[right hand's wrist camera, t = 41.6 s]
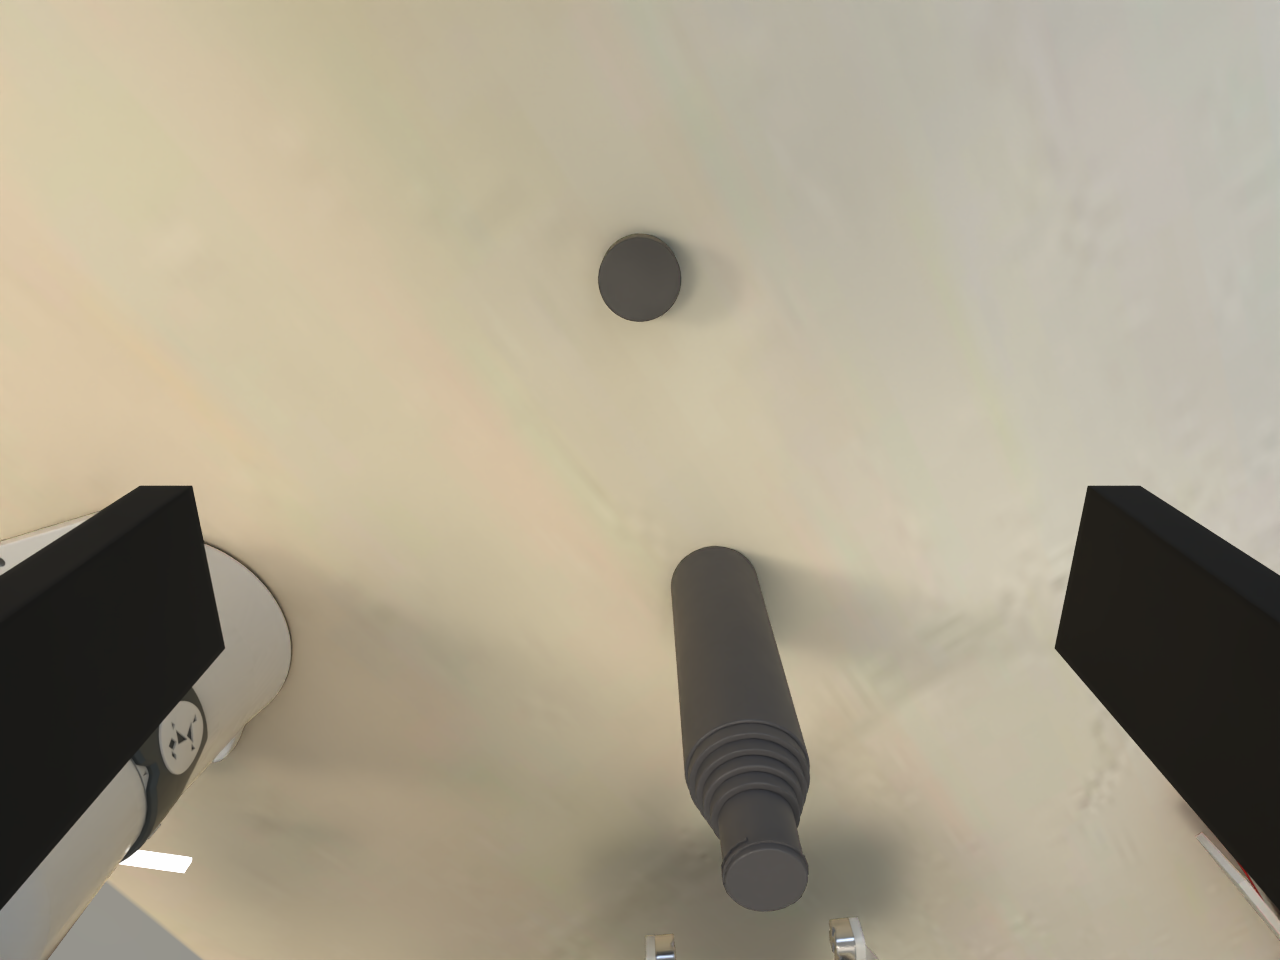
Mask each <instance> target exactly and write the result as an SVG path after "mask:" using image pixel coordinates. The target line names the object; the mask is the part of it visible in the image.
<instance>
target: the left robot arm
mask: <svg viewBox="0 0 1280 960" xmlns="http://www.w3.org/2000/svg"><path fill="white" fill-rule="evenodd" d="M99 512H100V511H99ZM97 513H98V512H95V513H92V514H89V515H86V516H82V517H79V518H76V519H72V520H69V521H66V522H63V523H59V524H56V525H53V526H49V527H46V528H43V529H40V530H36V531H33V532H30V533H26V534H23V535H20V536H17V537H13V538H10V539H7V540H3V541H0V575H2V574H3V573H5V572H6V571H8V570H10V569H11V568H13V567H14V566H16V565H17V564H19V563H21V562H22V561H24V560H25V559H27V558H28V557H30V556H31V555H33V554H35V553H36V552H38V551H39V550H41V549H42V548H44V547H45V546H47V545H49V544H50V543H52V542H53V541H55V540H56V539H58V538H59V537H61V536H63V535H64V534H66V533H67V532H69V531H70V530H72V529H73V528H75V527H77V526H78V525H80V524H81V523H83V522H84V521H86V520H87V519H89V518H91V517H92V516H94V515H95V514H97ZM204 546H205V551H206V556H207V561H208V566H209V571H210V576H211V580H212V585H213V590H214V595H215V600H216V605H217V610H218V615H219V620H220V625H221V630H222V634H223V639H224V644H225V649H224V650H223V652H222V653H221V654H220V655H219V656H218V657H217V659H216V660H215V661H214V662H213V663H212V664H211V666H210V667H209V668H208V669H207V670H206V671H205V673H204V674H203V675H202V676H201V677H200V678H199V680H198V681H197V682H196V683H195V684H194V685H193V687H192V688H191V689H190V690H189V691H188V692H187V694H186V695H185V696H184V697H183V698H182V699H181V701H180V702H179V703H178V704H177V705H176V706H175V708H174V709H173V710H172V711H171V712H170V713H169V715H168V716H167V717H166V718H165V719H164V720H163V722H162V723H161V724H160V725H159V726H158V727H157V729H156V730H155V731H154V732H153V733H152V734H151V736H150V737H149V738H148V739H147V740H146V741H145V743H144V744H143V745H142V746H141V747H140V748H139V750H138V751H137V752H136V753H135V754H134V755H133V757H132V758H131V759H130V760H129V761H128V762H127V764H126V765H125V766H124V767H123V768H122V769H121V771H120V772H119V773H118V774H117V775H116V776H115V778H114V779H113V780H112V781H111V782H110V783H109V785H108V786H107V787H106V788H105V789H104V790H103V792H102V793H101V794H100V795H99V796H98V797H97V799H96V800H95V801H94V802H93V803H92V804H91V806H90V807H89V808H88V809H87V810H86V811H85V813H84V814H83V815H82V816H81V817H80V818H79V820H78V821H77V822H76V823H75V824H74V825H73V827H72V828H71V829H70V830H69V831H68V832H67V834H66V835H65V836H64V837H63V838H62V839H61V841H60V842H59V843H58V844H57V845H56V846H55V848H54V849H53V850H52V851H51V852H50V853H49V855H48V856H47V857H46V858H45V859H44V860H43V862H42V863H41V864H40V865H39V866H38V867H37V869H36V870H35V871H34V872H33V873H32V874H31V876H30V877H29V878H28V879H27V880H26V881H25V883H24V884H23V885H22V886H21V887H20V888H19V890H18V891H17V892H16V893H15V894H14V895H13V897H12V898H11V899H10V900H9V901H8V902H7V904H6V905H5V906H4V907H3V908H2V909H1V911H0V960H48V958H49V957H50V956H51V954H52V953H53V952H54V950H55V949H56V948H57V946H58V945H59V943H60V942H61V941H62V940H63V938H64V937H65V936H66V934H67V933H68V931H69V930H70V929H71V927H72V926H73V925H74V923H75V922H76V921H77V919H78V918H79V917H80V915H81V914H82V913H83V911H84V910H85V909H86V907H87V906H88V905H89V903H90V902H91V901H92V899H93V898H94V897H95V895H96V894H97V893H98V891H99V890H100V888H101V887H102V886H103V884H104V883H105V882H106V880H107V879H108V878H109V876H110V875H111V874H112V872H113V871H114V870H115V868H116V867H117V866H118V864H123V865H130V866H138V867H145V868H152V869H159V870H166V871H173V872H181V873H184V872H185V871H186V869H187V868H188V866H189V865H190V863H191V862H192V857H185V856H178V855H171V854H164V853H156V852H149V851H142V850H139V849H140V847H141V846H142V845H143V844H144V843H145V842H146V840H147V839H149V838H150V837H151V836H152V835H153V834H154V832H155V831H156V830H157V829H158V828H159V827H160V825H161V824H160V823H161V822H162V820H163V819H164V818H165V816H166V815H167V814H168V812H169V811H170V810H171V808H172V807H173V805H174V804H175V803H176V801H177V800H178V799H179V797H180V796H181V795H182V794H183V793H184V792H185V791H186V789H187V788H188V787H189V786H190V785H191V784H192V783H193V782H194V781H195V780H196V779H197V778H198V776H199V775H200V774H201V773H202V772H203V771H204V770H205V769H206V768H207V767H208V765H209V764H210V763H211V762H218V761H221V760H223V759H224V758H225V757H226V756H227V755H228V754H229V753H230V752H231V751H232V750H233V749H234V747H235V746H236V744H237V742H238V740H239V738H240V736H241V734H242V731H243V729H244V726H245V725H246V724H247V723H248V722H249V721H250V720H251V719H252V718H253V717H254V716H255V715H257V714H258V713H259V712H260V711H261V710H263V709H264V708H265V707H266V706H267V705H268V704H269V703H270V702H271V701H272V700H273V699H274V698H275V697H276V695H277V694H278V693H279V691H280V689H281V688H282V686H283V684H284V682H285V680H286V677H287V674H288V671H289V667H290V661H291V641H290V635H289V631H288V627H287V624H286V621H285V618H284V616H283V613H282V611H281V609H280V607H279V605H278V604H277V602H276V600H275V599H274V597H273V596H272V594H271V593H270V592H269V590H268V589H267V588H266V587H265V585H264V584H263V583H262V582H261V581H260V580H259V579H258V578H257V577H256V576H255V575H254V574H253V573H252V572H251V571H250V570H248V569H247V568H246V567H245V566H243V565H242V564H241V563H239V562H238V561H237V560H235V559H234V558H232V557H231V556H229V555H227V554H225V553H224V552H222V551H220V550H218V549H216V548H214V547H211V546H209V545H207V544H204ZM829 927H830V931H829V938H830V944H831V948H832V952H834V960H878V957H877V956H876V955H875V954H874V953H873V952H872V951H871V949H870V948H869V947H868V946H867V945H866V944H865V938H864V934H863V931H862V928H861V925H860V921H859V918H858V917H849V918H848V917H847V918H839V919H830V920H829ZM645 947H646V958H645V959H644V960H676V951H675V945H674V934H663V935H646V936H645Z"/></svg>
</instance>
